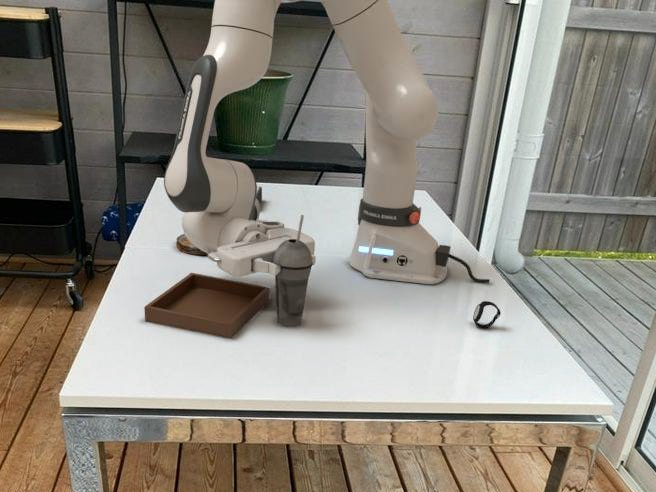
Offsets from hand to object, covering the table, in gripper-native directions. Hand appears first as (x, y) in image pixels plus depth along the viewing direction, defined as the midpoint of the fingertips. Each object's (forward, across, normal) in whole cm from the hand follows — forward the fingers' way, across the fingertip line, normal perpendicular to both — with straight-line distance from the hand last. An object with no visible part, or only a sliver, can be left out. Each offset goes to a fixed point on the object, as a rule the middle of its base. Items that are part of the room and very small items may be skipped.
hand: (296, 265), depth 138 cm
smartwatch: (+23, +30, +11) cm, 39 cm away
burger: (-44, +13, +11) cm, 47 cm away
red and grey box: (-68, +42, +11) cm, 80 cm away
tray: (-14, -9, +11) cm, 20 cm away
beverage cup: (-1, 0, +11) cm, 11 cm away
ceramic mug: (-52, +31, +11) cm, 62 cm away
